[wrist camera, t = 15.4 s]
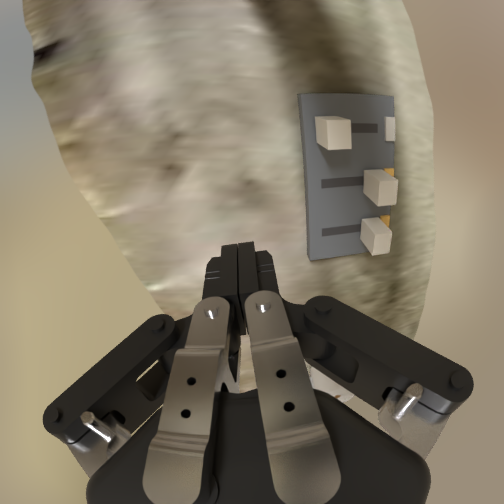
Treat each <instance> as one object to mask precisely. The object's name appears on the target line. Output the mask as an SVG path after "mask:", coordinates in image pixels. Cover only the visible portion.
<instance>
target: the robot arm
mask: <svg viewBox="0 0 504 504" xmlns="http://www.w3.org/2000/svg"><path fill="white" fill-rule="evenodd" d="M246 328H247V332H248V334H249V337H250V343H251V346H250V347H251V354H252V360H253V366H254V372H255V378H256V384H257V389H254V390H251V391H248V392H245V393H239V379H240V362H241V347H240V345H241V337H240V335H246ZM304 359H305V361H306V362H307V363H308V364H310V365H311V366H312V367H314V368H315V369H317V370H318V371H320V372H321V373H323V374H324V375H326V376H327V377H328V378H330V379H331V380H333V381H334V382H336V383H337V384H339V385H340V386H342V387H343V388H345V389H346V390H348V391H349V392H351V393H353V394H354V395H356V396H357V397H359V398H360V399H362V400H363V401H365V402H367V403H368V404H370V405H371V406H373V407H375V408H376V409H378V410H379V413H378V420H379V422H380V425H381V426H382V427H383V428H384V429H385V430H386V431H387V432H388V433H389V434H390V436H389V435H388V434H386V433H385V432H383V431H382V430H380V429H379V428H377V427H376V426H374V425H373V424H372V423H370V422H369V421H367V420H366V419H364V418H363V417H362V416H360V415H359V414H357V413H356V412H355V411H353V410H352V409H350V408H349V407H348V406H346V405H345V404H343V403H342V402H341V401H339V400H338V399H337V398H335V397H334V396H332V395H330V394H328V393H326V392H324V391H321V390H317V389H313V387H312V384H311V381H310V378H309V374H308V371H307V368H306V365H305V362H304ZM156 360H158V362H157V363H156V364H155V365H154V366H153V367H152V368H151V369H150V370H149V371H148V372H147V373H146V374H144V375H143V376H142V377H141V378H140V379H139V380H138V381H137V382H136V380H137V378H138V377H139V376H140V375H141V374H142V373H143V372H144V371H145V370H146V369H147V368H149V367H150V366H151V365H152V364H153V363H154V362H155V361H156ZM473 385H474V384H473V378H472V376H471V374H470V372H469V371H468V370H467V369H466V368H464V367H462V366H461V365H459V364H457V363H455V362H453V361H451V360H449V359H447V358H446V357H444V356H442V355H440V354H438V353H436V352H434V351H432V350H430V349H429V348H427V347H425V346H423V345H421V344H419V343H417V342H415V341H413V340H412V339H410V338H408V337H406V336H404V335H402V334H400V333H398V332H397V331H395V330H393V329H391V328H389V327H387V326H385V325H383V324H382V323H380V322H378V321H376V320H374V319H372V318H370V317H368V316H367V315H365V314H363V313H361V312H359V311H357V310H355V309H353V308H352V307H350V306H348V305H346V304H344V303H342V302H340V301H338V300H337V299H335V298H332V297H329V296H316V297H313V298H311V299H310V300H308V301H307V302H306V304H305V305H300V304H293V303H290V302H287V301H286V300H284V299H283V298H282V297H281V295H280V293H279V289H278V284H277V279H276V274H275V269H274V264H273V259H272V256H271V255H270V254H269V253H268V252H267V251H266V250H265V251H257V252H255V247H254V241H252V242H245V243H238V245H237V244H231V245H224V246H222V247H221V257H213V258H211V260H210V261H209V262H208V264H207V267H206V274H205V281H204V288H203V296H202V301H200V302H199V303H198V304H197V305H196V306H195V308H194V312H193V314H192V315H190V316H188V317H186V318H183V319H180V320H177V321H174V319H173V318H172V317H171V316H169V315H166V314H160V315H155V316H153V317H151V318H149V319H148V320H147V321H145V322H144V323H143V324H142V325H141V326H140V327H138V328H137V329H136V330H135V331H134V332H132V333H131V334H130V335H129V336H128V337H127V338H125V339H124V340H123V341H122V342H121V343H120V344H118V345H117V346H116V347H115V348H114V349H113V350H111V351H110V352H109V353H108V354H107V355H106V356H105V357H103V358H102V359H101V360H100V361H99V362H98V363H96V364H95V365H94V366H93V367H92V368H91V369H90V370H88V371H87V372H86V373H85V374H84V375H83V376H82V377H80V378H79V379H78V380H77V381H76V382H75V383H74V384H72V385H71V386H70V387H69V388H68V389H67V390H66V391H64V392H63V393H62V394H61V395H60V396H59V397H58V398H56V399H55V400H54V401H53V402H52V403H51V404H50V405H49V406H48V407H47V408H46V410H45V412H44V414H43V425H44V427H45V429H46V430H47V431H48V432H49V433H51V434H52V435H54V436H55V437H57V438H58V439H60V440H61V441H62V442H63V443H65V444H66V445H67V446H68V447H69V449H70V450H71V452H72V454H73V455H74V457H75V458H76V459H77V461H78V463H79V464H80V465H81V467H82V468H83V470H84V471H85V472H86V474H87V475H88V476H89V478H90V480H89V482H88V484H87V489H86V499H87V504H425V502H426V499H427V496H428V493H429V489H430V484H431V475H430V470H429V468H428V466H427V463H426V462H425V459H426V457H427V456H428V454H429V453H430V451H431V449H432V448H433V446H434V444H435V443H436V441H437V439H438V437H439V436H440V434H441V432H442V430H443V428H444V426H445V424H446V422H447V420H448V419H449V417H450V415H451V414H452V413H453V412H454V411H455V410H456V409H457V408H458V407H459V406H460V405H461V404H462V403H464V402H465V400H466V399H467V398H468V397H469V396H470V395H471V393H472V391H473ZM162 404H163V406H162V407H161V408H160V409H158V408H159V407H160V406H161V405H162ZM157 409H158V410H157ZM156 410H157V411H156ZM155 411H156V412H155ZM154 412H155V413H154ZM153 413H154V414H153ZM152 414H153V415H152ZM151 415H152V416H151ZM150 416H151V417H150ZM149 417H150V418H149ZM148 418H149V419H148ZM146 419H148V420H147V422H145V423H144V425H142V427H140V429H138V431H137V432H136V433H135V434H134V435H133V436H132V437H131V434H132V433H133V432H134V431H135V430H136V429H137V428H138V427H139V426H140V425H141V424H142V423H143V422H144V421H146Z"/></svg>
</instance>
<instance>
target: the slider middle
mask: <svg viewBox="0 0 504 504" xmlns="http://www.w3.org/2000/svg"><path fill="white" fill-rule="evenodd" d="M397 189H398V180H397V179H396V178H394V177H393V176H391V175H390V174H388V173H387V172H385V171H383V170H382V169H375V170H364V187H363V193H364V194H365V195H366V196H367V197H368V198H369V199H371V200H372V201H373V202H374V203H375V204H376V205H377V206H387V205H396V200H397Z"/></svg>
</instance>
